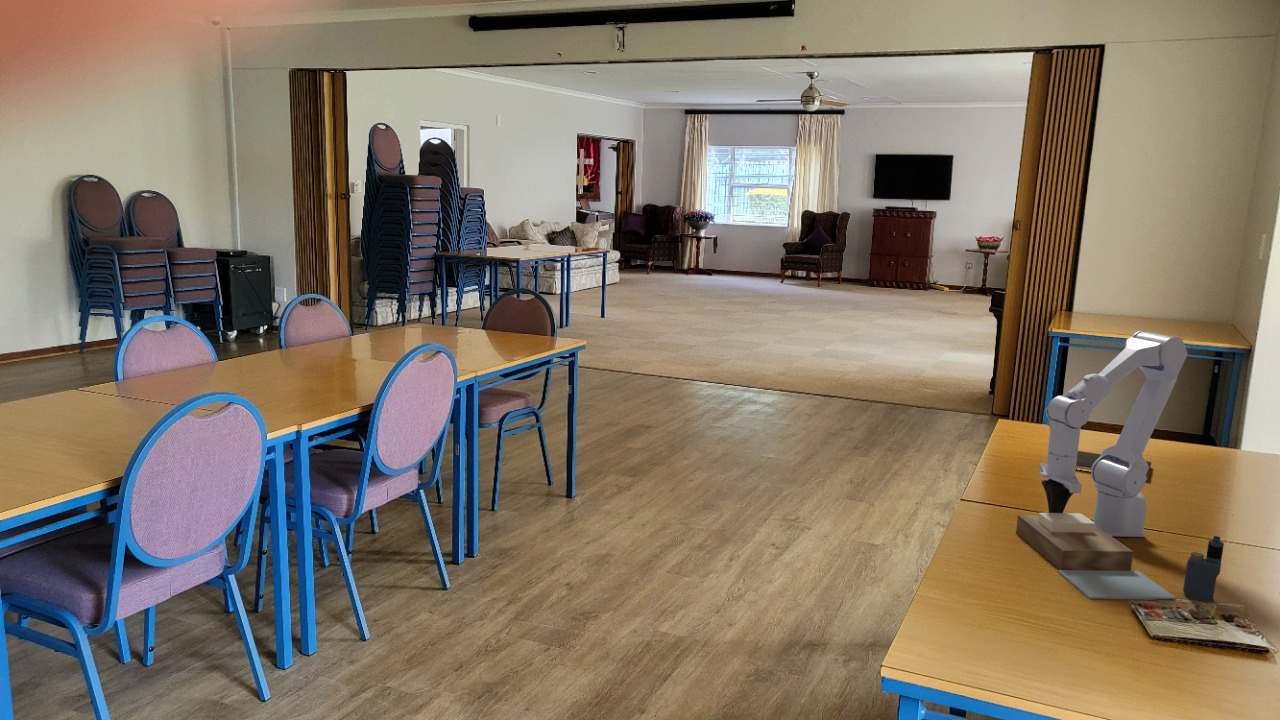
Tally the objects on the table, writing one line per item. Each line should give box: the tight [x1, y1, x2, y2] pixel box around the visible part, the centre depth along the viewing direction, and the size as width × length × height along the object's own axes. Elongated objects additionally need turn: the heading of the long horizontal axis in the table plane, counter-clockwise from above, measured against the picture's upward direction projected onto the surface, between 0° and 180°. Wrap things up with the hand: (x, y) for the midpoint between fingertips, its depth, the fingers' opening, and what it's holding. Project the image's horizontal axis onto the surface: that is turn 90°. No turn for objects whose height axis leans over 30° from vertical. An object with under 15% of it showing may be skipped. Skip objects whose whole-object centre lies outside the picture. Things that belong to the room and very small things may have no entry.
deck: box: [1015, 514, 1134, 571], centre depth 193 cm, size 14×20×4 cm
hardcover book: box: [1076, 450, 1152, 481], centre depth 255 cm, size 16×23×2 cm
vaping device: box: [1182, 535, 1225, 603], centre depth 171 cm, size 3×5×12 cm, turn 58°
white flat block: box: [1038, 512, 1095, 533], centre depth 195 cm, size 9×6×2 cm, turn 92°
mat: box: [1057, 569, 1177, 601], centre depth 176 cm, size 16×12×1 cm
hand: (1055, 515), depth 200 cm, fingers closed
